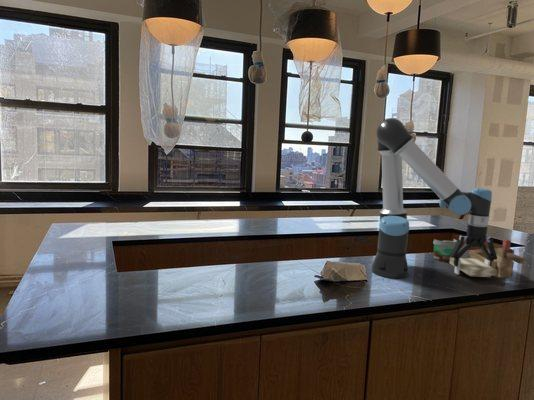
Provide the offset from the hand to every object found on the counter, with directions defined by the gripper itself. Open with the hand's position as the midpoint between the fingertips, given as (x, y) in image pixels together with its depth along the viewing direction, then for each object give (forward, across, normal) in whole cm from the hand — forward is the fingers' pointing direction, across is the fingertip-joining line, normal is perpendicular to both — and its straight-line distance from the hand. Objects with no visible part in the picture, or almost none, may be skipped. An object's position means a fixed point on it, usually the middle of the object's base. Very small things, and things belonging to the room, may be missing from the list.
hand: (471, 274), depth 167 cm
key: (-9, +14, -4) cm, 17 cm away
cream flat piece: (-1, 0, 0) cm, 1 cm away
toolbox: (0, +14, +8) cm, 16 cm away
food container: (+1, -1, +20) cm, 20 cm away
